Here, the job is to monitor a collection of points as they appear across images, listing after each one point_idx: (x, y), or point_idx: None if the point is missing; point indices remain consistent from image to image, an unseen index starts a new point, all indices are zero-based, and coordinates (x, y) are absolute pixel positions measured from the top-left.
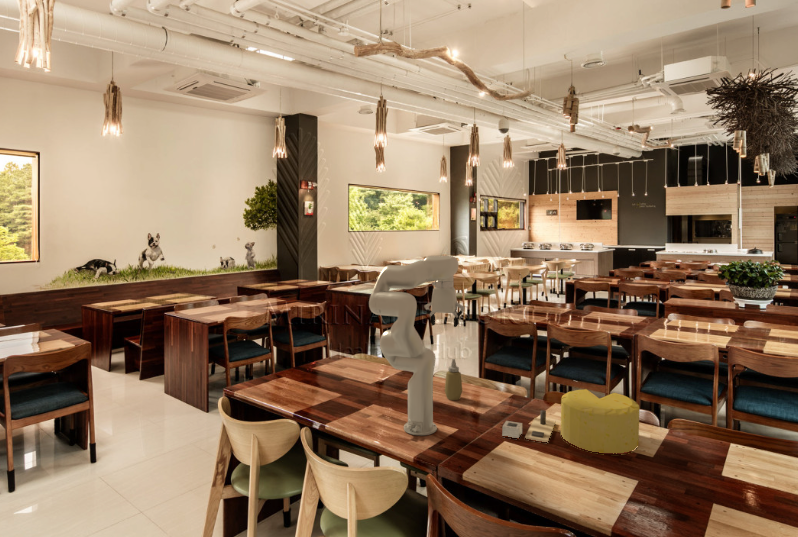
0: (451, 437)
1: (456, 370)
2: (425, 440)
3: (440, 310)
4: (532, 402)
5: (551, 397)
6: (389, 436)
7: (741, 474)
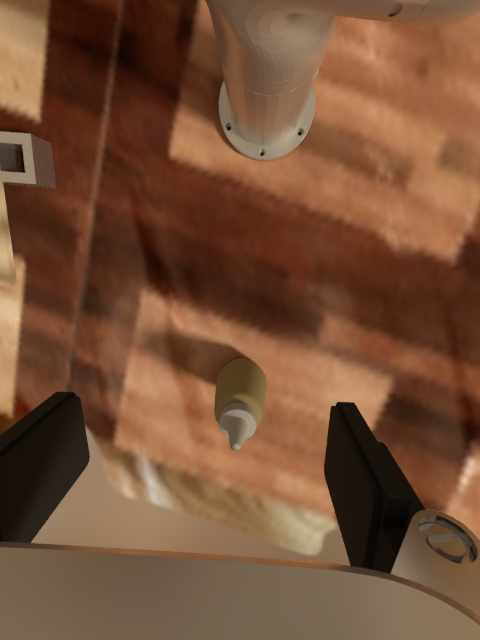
0: (168, 84)
1: (224, 410)
2: None
3: (171, 617)
4: None
5: None
6: None
7: None
